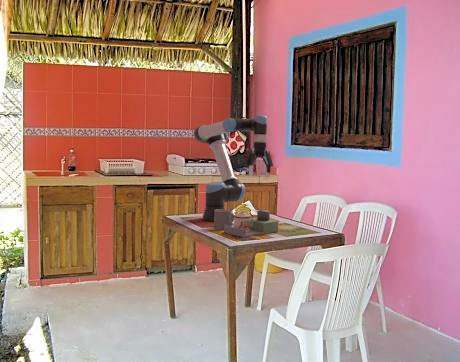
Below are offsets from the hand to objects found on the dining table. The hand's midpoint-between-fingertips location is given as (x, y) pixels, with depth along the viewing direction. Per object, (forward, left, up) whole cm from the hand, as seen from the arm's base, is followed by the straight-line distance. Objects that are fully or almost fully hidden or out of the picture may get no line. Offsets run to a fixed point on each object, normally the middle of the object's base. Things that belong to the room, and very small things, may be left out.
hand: (258, 177), depth 331 cm
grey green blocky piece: (+14, -19, -29) cm, 37 cm away
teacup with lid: (+14, -25, -28) cm, 40 cm away
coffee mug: (-5, -22, -29) cm, 37 cm away
